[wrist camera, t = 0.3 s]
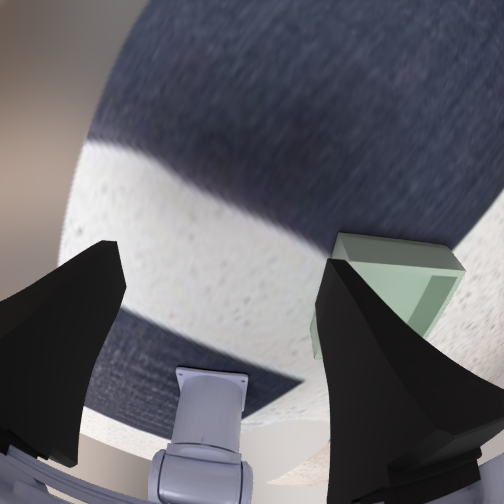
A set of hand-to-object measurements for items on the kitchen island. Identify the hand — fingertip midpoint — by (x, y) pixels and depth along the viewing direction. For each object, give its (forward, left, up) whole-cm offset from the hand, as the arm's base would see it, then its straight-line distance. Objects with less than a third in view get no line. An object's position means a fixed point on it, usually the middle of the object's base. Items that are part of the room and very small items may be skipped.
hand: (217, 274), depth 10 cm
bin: (-8, -12, -10) cm, 18 cm away
